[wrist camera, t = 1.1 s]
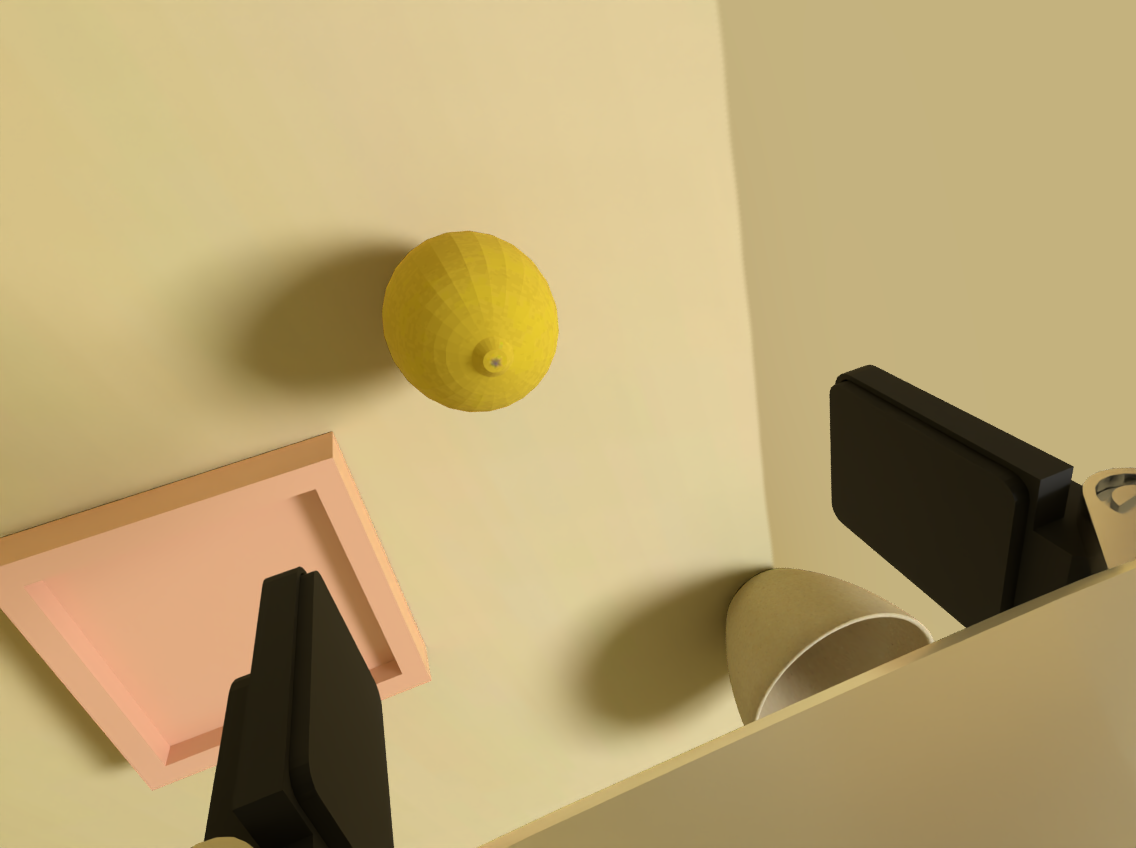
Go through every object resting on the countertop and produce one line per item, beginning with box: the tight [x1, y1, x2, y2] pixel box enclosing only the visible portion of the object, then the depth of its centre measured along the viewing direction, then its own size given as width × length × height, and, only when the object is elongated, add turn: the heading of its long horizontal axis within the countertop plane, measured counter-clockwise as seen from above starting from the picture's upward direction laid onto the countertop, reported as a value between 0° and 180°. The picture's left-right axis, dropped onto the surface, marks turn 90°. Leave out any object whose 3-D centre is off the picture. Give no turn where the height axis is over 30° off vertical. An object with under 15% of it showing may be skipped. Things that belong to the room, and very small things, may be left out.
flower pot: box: [726, 568, 934, 726], centre depth 35 cm, size 10×10×7 cm
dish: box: [0, 432, 431, 791], centre depth 28 cm, size 12×12×2 cm
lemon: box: [382, 231, 559, 412], centre depth 22 cm, size 6×6×8 cm
